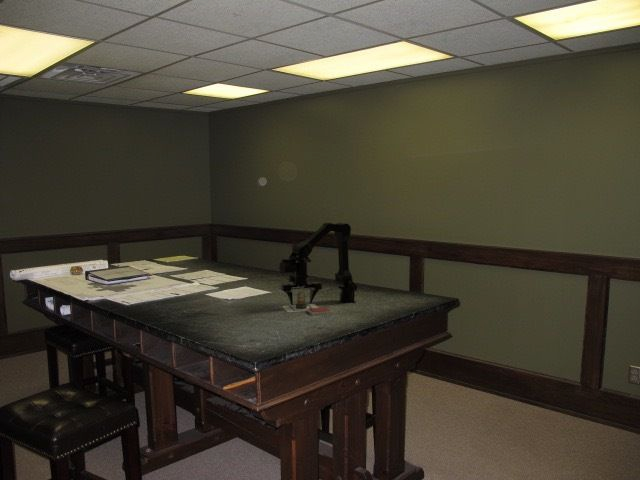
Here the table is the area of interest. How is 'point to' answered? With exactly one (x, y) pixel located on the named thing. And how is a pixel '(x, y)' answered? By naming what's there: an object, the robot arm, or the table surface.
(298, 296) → the stamp
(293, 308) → the paper
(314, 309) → the ink pad
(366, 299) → the table surface
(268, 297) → the table surface
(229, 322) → the table surface
